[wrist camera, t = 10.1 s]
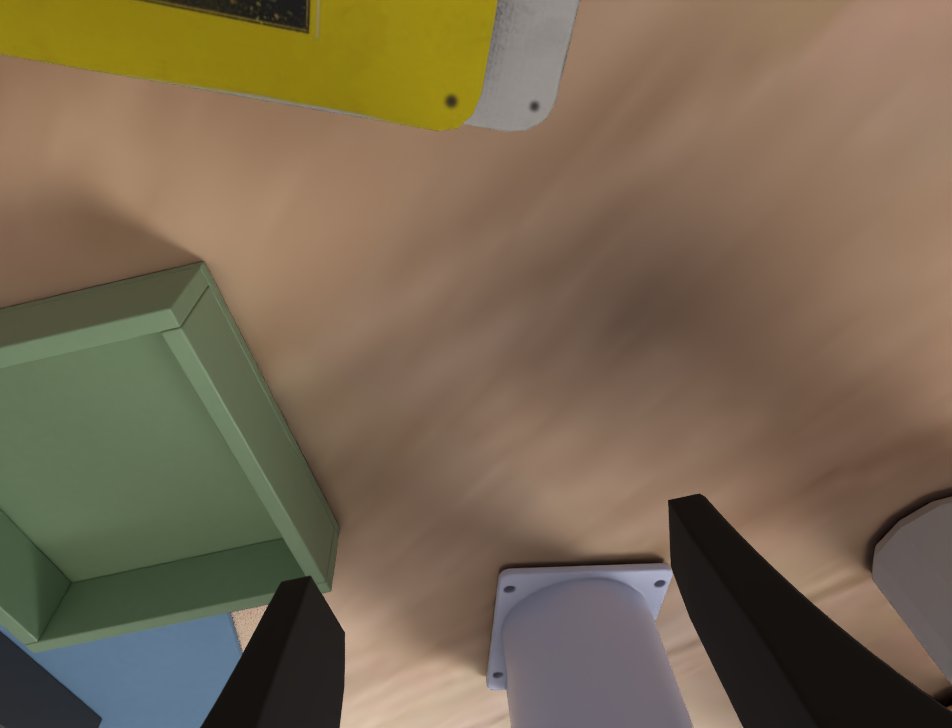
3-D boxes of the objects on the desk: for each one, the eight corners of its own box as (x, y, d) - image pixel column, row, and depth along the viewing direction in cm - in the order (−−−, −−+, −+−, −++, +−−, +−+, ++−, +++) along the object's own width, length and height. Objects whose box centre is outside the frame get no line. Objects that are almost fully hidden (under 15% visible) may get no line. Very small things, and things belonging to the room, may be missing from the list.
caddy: (340, 528, 24) (331, 591, 22) (71, 585, 25) (33, 653, 22) (204, 260, 18) (169, 307, 15) (-162, 346, 18) (-253, 406, 16)
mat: (269, 748, 34) (268, 756, 33) (-157, 776, 31) (-163, 784, 31) (226, 596, 26) (223, 603, 26) (-341, 618, 24) (-351, 627, 23)
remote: (103, 718, 30) (74, 786, 27) (39, 731, 30) (5, 799, 27) (0, 629, 25) (-45, 701, 23) (-74, 645, 26) (-127, 718, 23)
